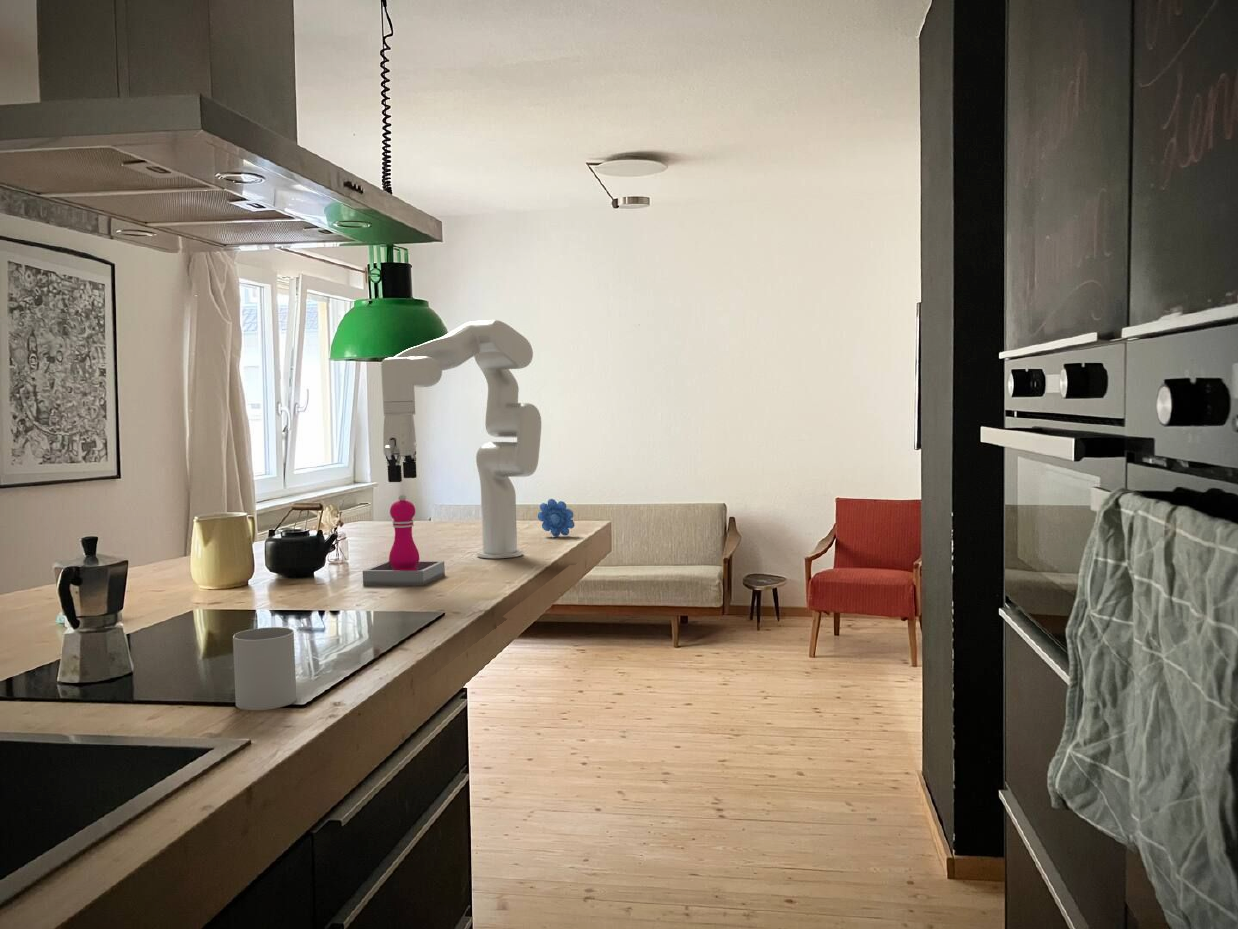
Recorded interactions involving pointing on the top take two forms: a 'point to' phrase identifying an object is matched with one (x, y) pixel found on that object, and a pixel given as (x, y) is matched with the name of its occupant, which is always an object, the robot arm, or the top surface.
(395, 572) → the tray
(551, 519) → the blue toy flower
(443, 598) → the top surface
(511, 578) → the top surface
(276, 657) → the cup
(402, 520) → the pepper mill
